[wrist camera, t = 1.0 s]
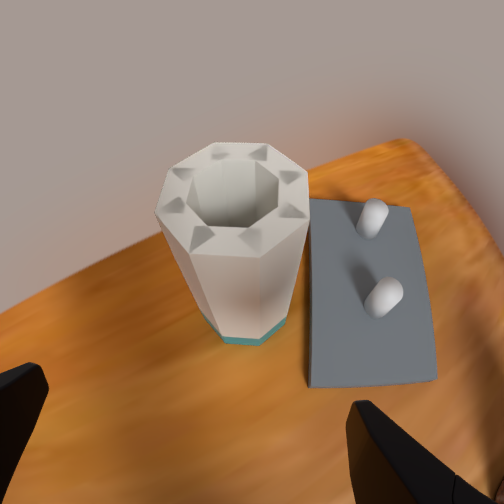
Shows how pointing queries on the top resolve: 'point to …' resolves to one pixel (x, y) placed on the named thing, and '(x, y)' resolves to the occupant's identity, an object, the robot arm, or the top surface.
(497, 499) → the sauce bottle
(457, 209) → the top surface
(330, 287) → the pin plate
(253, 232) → the vase
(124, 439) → the top surface
